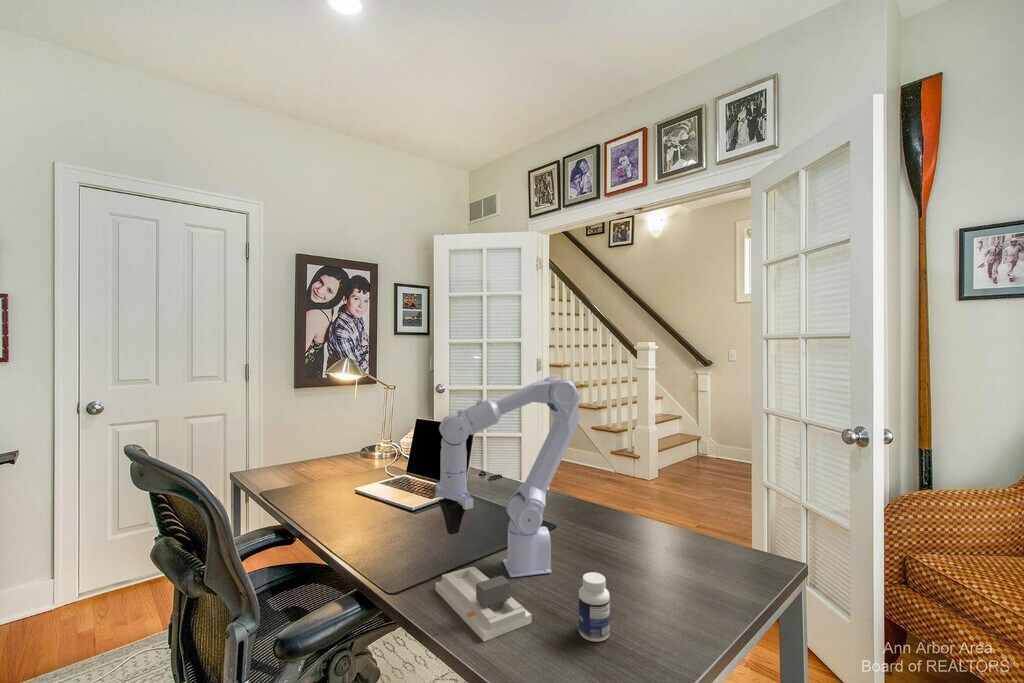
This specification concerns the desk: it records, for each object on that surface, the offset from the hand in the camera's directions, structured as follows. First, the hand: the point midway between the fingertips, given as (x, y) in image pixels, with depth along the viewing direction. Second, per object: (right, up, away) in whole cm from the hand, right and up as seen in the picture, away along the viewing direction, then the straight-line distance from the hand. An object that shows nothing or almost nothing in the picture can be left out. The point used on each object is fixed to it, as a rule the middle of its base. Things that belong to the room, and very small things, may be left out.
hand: (453, 532), depth 102 cm
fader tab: (+9, -8, -16) cm, 20 cm away
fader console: (+7, -9, -12) cm, 16 cm away
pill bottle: (+27, -10, -20) cm, 35 cm away
